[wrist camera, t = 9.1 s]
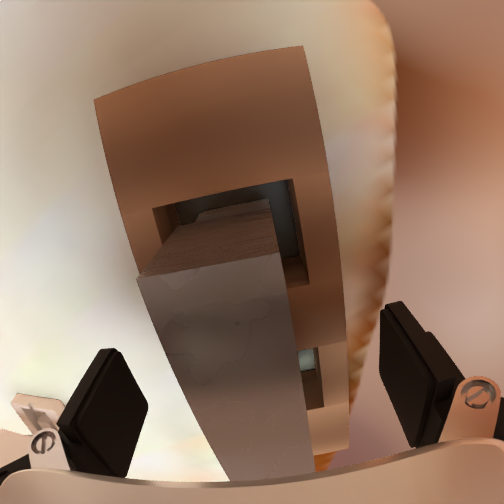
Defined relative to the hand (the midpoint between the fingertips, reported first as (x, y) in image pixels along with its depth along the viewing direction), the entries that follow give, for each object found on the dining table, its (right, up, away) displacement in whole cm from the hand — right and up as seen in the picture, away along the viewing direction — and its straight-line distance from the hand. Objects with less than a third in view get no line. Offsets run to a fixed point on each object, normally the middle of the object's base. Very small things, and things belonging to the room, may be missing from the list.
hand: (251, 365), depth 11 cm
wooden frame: (0, +2, +5) cm, 5 cm away
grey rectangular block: (0, +2, +5) cm, 5 cm away
